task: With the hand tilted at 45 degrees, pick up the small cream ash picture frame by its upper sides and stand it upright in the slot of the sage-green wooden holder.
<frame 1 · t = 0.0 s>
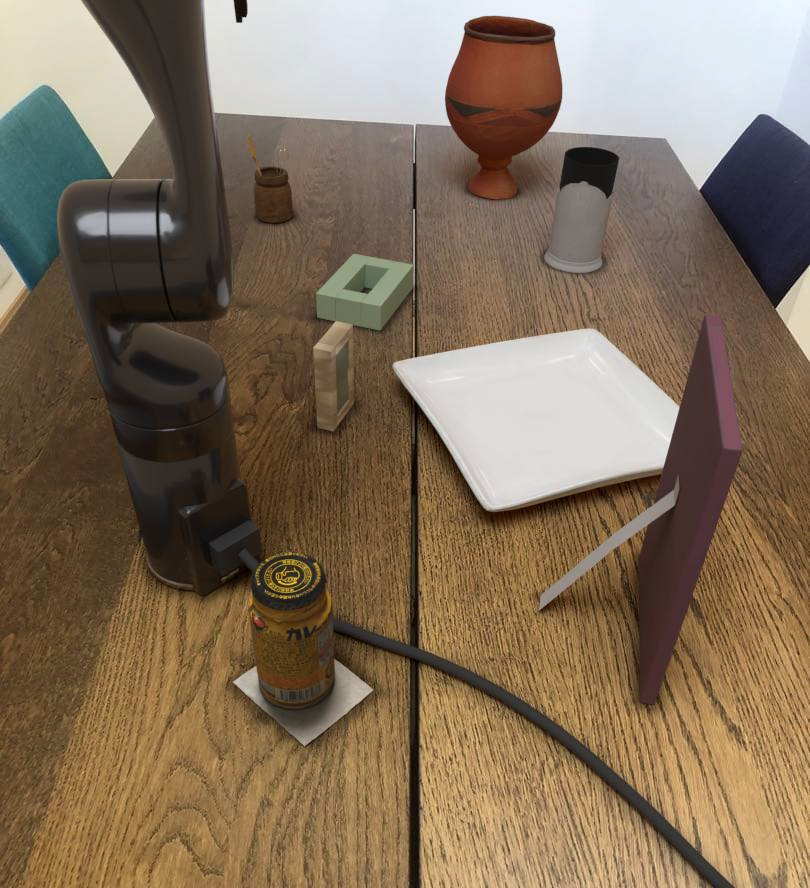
hand: (202, 18, 94), 31 cm above the table, tool tilted 20°, fingers open, 8 cm apart
holder: (366, 302, 112), on the table
utensil holder: (273, 218, 132), on the table
condiment: (303, 689, 65), on the table
glass holder: (576, 254, 126), on the table
picture frame: (594, 618, 71), on the table
frame: (335, 415, 92), on the table
square plate: (544, 432, 91), on the table
goblet: (492, 191, 143), on the table
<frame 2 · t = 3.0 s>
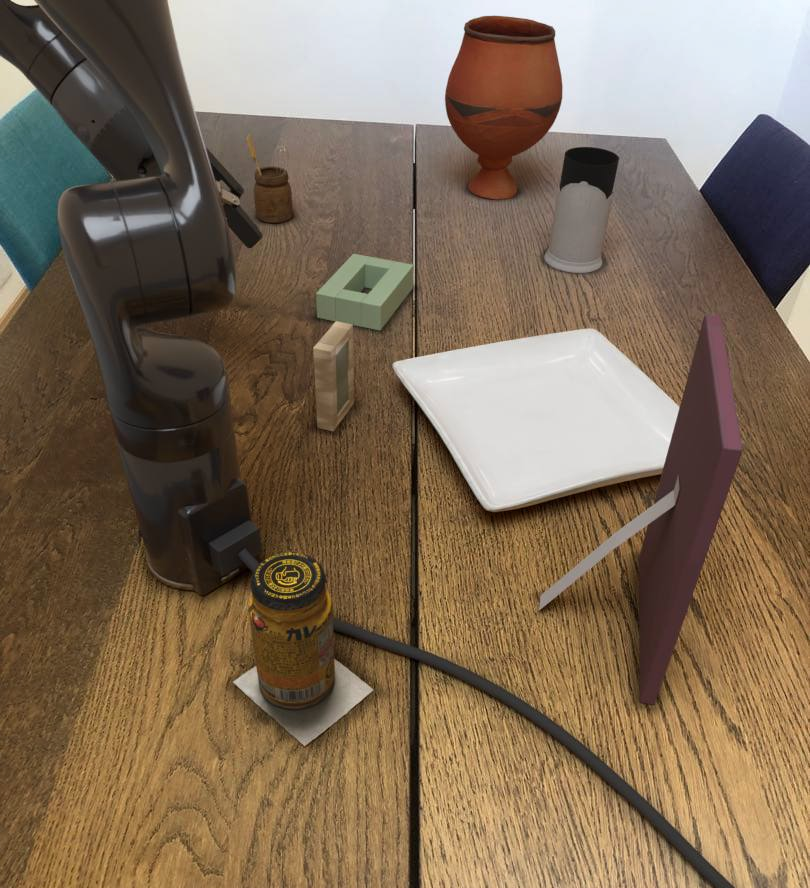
hand: (237, 259, 83), 16 cm above the table, tool tilted 45°, fingers open, 8 cm apart
nothing on the table moved.
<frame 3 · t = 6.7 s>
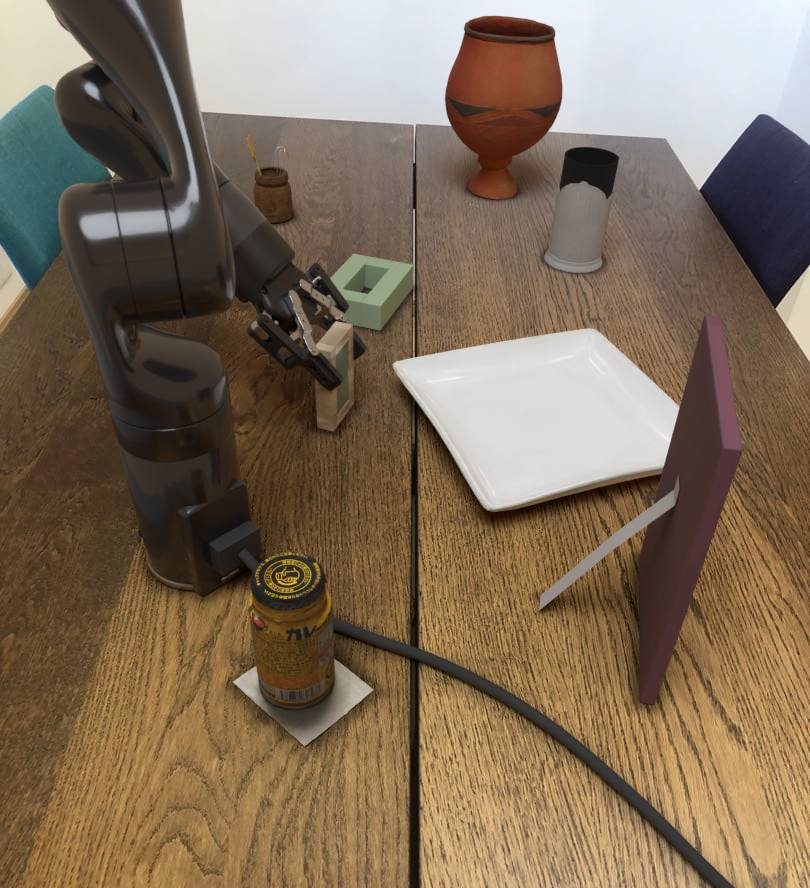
hand: (349, 369, 87), 6 cm above the table, tool tilted 45°, fingers closed on frame, 6 cm apart
frame: (335, 415, 92), on the table, touching gripper
everything else where it was.
when the fingers open (6 cm above the table, at t = 17.2 s): frame stays where it is, resting in holder.
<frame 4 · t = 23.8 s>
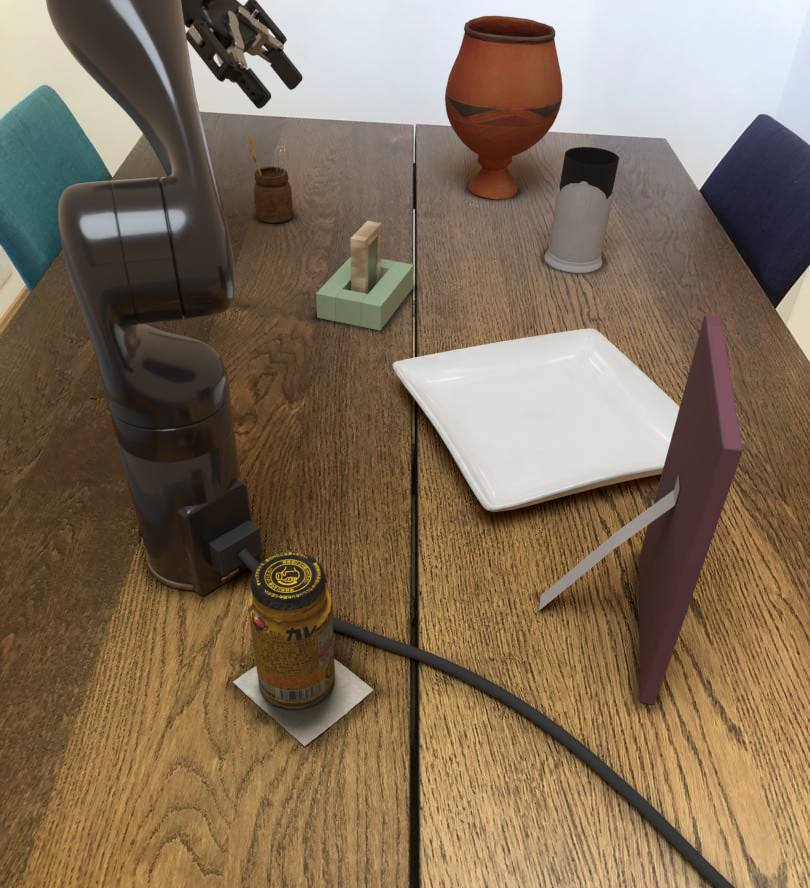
hand: (282, 93, 97), 25 cm above the table, tool tilted 45°, fingers open, 8 cm apart
frame: (366, 302, 112), resting in holder
everything else where it was.
at the end: frame 0.0 cm off-centre on the holder, point 0.0 cm above the holder's base; frame tilted 0°; the gripper is holding nothing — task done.
